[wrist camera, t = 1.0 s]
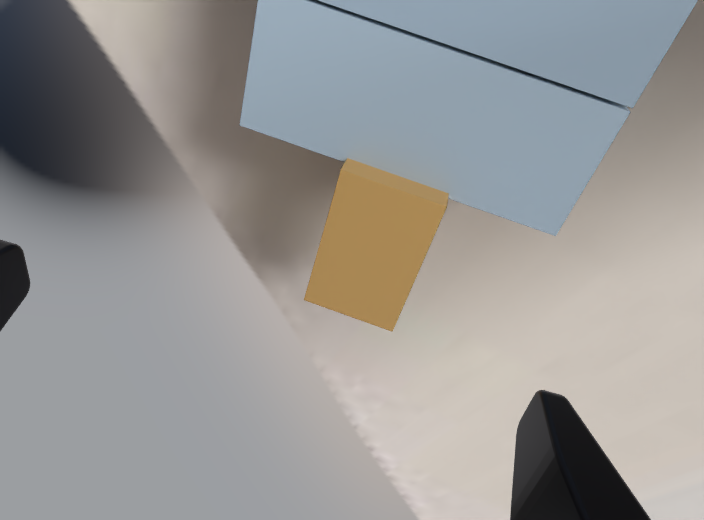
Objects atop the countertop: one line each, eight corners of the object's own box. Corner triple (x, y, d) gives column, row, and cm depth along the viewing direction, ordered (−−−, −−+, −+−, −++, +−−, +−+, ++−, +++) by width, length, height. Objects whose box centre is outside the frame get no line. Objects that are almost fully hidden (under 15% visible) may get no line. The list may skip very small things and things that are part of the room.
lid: (876, -328, 9) (941, -367, 8) (487, 332, 18) (487, 365, 17) (346, -496, 9) (322, -563, 8) (230, 241, 18) (210, 266, 17)
